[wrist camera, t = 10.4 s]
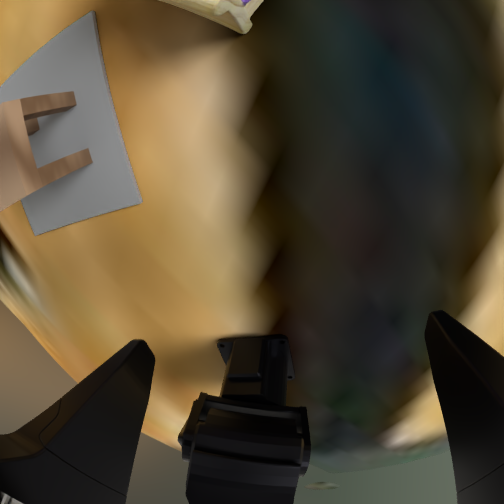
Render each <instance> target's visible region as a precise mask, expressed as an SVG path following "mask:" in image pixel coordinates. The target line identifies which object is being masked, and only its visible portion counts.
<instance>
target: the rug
mask: <svg viewBox="0 0 504 504" xmlns="http://www.w3.org/2000/svg"><path fill="white" fill-rule="evenodd" d="M70 91H74V95H75V99H76V104H77V105H76V106H74V107H72V108H71V109H69V110H68V111H65V112H60V113H55V114H51V115H46V116H42V117H38V118H37V120H38V124H39V128H40V129H39V130H38V131H37V132H35V133H34V134H33V135H30V136H28V138H29V142H30V146H31V149H32V153H33V156H34V160H35V163H36V166H37V169H38V168H40V167H42V166H44V165H47V164H49V163H51V162H54V161H56V160H58V159H61V158H63V157H66V156H68V155H71V154H73V153H76V152H79V151H81V150H84V149H87V148H89V152H90V155H91V158H92V161H93V163H91V164H88V165H86V166H84V167H82V168H80V169H78V170H75V171H73V172H71V173H69V174H67V175H65V176H63V177H61V178H59V179H57V180H55V181H53V182H51V183H49V184H47V185H46V186H44V187H42V188H40V189H38V190H36V191H35V192H33V193H31V194H29V195H27V196H26V197H24V198H22V199H20V200H21V202H22V205H23V208H24V210H25V213H26V215H27V218H28V220H29V223H30V225H31V227H32V230H33V232H34V234H35V236H36V235H39V234H42V233H45V232H48V231H51V230H54V229H57V228H60V227H63V226H66V225H69V224H72V223H75V222H78V221H81V220H84V219H88V218H91V217H94V216H98V215H101V214H104V213H108V212H111V211H115V210H118V209H122V208H126V207H129V206H133V205H137V204H140V203H142V202H143V201H142V198H141V195H140V192H139V189H138V186H137V183H136V180H135V177H134V174H133V171H132V168H131V164H130V161H129V158H128V155H127V151H126V148H125V145H124V141H123V138H122V134H121V131H120V127H119V124H118V120H117V116H116V112H115V109H114V105H113V101H112V97H111V93H110V88H109V84H108V80H107V75H106V71H105V66H104V61H103V56H102V51H101V46H100V40H99V35H98V29H97V22H96V16H95V11H91V12H89V13H87V14H86V15H84V16H83V17H81V18H80V19H78V20H77V21H75V22H74V23H73V24H71V25H70V26H68V27H67V28H66V29H64V30H63V31H62V32H60V33H59V34H58V35H56V36H55V37H54V38H52V39H51V40H50V41H49V42H47V43H46V44H45V45H44V46H43V47H41V48H40V49H39V50H38V51H37V52H36V53H34V54H33V55H32V56H31V57H30V58H29V59H28V60H27V61H26V62H24V63H23V64H22V65H21V66H20V67H19V68H18V69H17V70H16V71H15V72H14V73H13V74H12V75H11V76H10V77H9V78H8V79H7V80H6V81H5V82H4V83H3V84H2V85H1V87H0V104H1V103H2V102H7V101H11V100H16V99H21V98H27V97H32V96H39V95H45V94H53V93H61V92H70Z"/></svg>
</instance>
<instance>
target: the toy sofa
mask: <svg viewBox="0 0 504 504" xmlns="http://www.w3.org/2000/svg"><path fill="white" fill-rule="evenodd" d="M159 1H162V2H165V3H168V4H171V5H174V6H176V7H179V8H182V9H185V10H187V11H190V12H192V13H195V14H197V15H200V16H202V17H205V18H207V19H210V20H212V21H214V22H217V23H219V24H221V25H224V26H226V27H228V28H230V29H232V30H234V31H236V32H238V33H241V34H246V33H247V32H248V31H249V30H250V28H251V26H252V23H251V21H250V17H251V15H252V14H253V13H254V11H255V10H256V9H257V8H258V6H259V5H260V4H261V3H262V1H263V0H159Z"/></svg>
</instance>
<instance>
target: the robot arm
mask: <svg viewBox="0 0 504 504" xmlns="http://www.w3.org/2000/svg"><path fill="white" fill-rule="evenodd" d="M281 340H283V341H281ZM425 341H426V346H427V350H428V355H429V360H430V365H431V370H432V375H433V380H434V384H435V388H436V392H437V395H438V399H439V402H440V406H441V410H442V414H443V418H444V422H445V427H446V431H447V436H448V441H449V446H450V451H451V456H452V461H453V469H454V475H455V483H456V491H457V503H458V504H504V357H503V356H502V355H501V354H500V353H498V352H497V351H496V350H495V349H493V348H492V347H491V346H490V345H488V344H487V343H486V342H485V341H483V340H482V339H481V338H479V337H478V336H477V335H476V334H474V333H473V332H472V331H470V330H469V329H468V328H466V327H465V326H464V325H462V324H461V323H460V322H458V321H457V320H456V319H454V318H453V317H452V316H450V315H449V314H447V313H446V312H445V311H443V310H438V311H434V312H431V313H430V314H429V316H428V321H427V325H426V329H425ZM217 347H218V349H219V351H220V353H221V356H222V358H223V360H224V362H225V364H226V370H225V374H224V379H223V383H222V388H221V392H220V396H219V397H217V396H212V395H207V393H202V392H201V393H200V395H199V398H198V400H197V399H196V401H194V402H193V406H192V409H191V412H190V415H189V418H188V420H187V421H186V423H185V425H184V426H183V428H182V430H181V432H180V433H179V435H178V442H179V443H180V445H181V446H182V459H183V461H186V462H189V467H188V474H187V481H186V497H187V499H188V502H189V504H293V502H294V495H295V491H296V487H297V482H298V478H299V477H303V476H304V475H305V473H306V471H307V468H308V465H309V460H310V452H311V441H310V433H309V425H308V417H307V409H306V407H301V406H300V407H289V406H286V391H287V380H293V379H294V378H295V371H294V366H293V361H292V356H291V351H290V346H289V341H288V338H287V337H286V336H284V335H278V336H266V337H252V338H235V339H220V340H218V343H217ZM154 366H155V356H154V354H153V352H152V351H151V349H150V348H149V346H148V345H147V343H146V342H145V341H144V340H142V339H134V340H132V341H130V342H129V343H128V344H127V345H125V346H124V347H123V348H122V349H120V350H119V351H118V352H117V353H115V354H114V355H113V356H112V357H110V358H109V359H108V360H107V361H106V362H104V363H103V364H102V365H101V366H99V367H98V368H97V369H96V370H94V371H93V372H92V373H91V374H90V375H88V376H87V377H86V378H85V379H83V380H82V381H81V382H80V383H79V384H77V385H76V386H75V387H74V388H72V389H71V390H70V391H69V392H68V393H66V394H65V395H64V396H63V397H62V398H60V399H59V400H58V401H57V402H55V403H54V404H53V405H52V406H50V407H49V408H48V409H46V410H45V411H44V412H42V413H41V414H40V415H38V416H37V417H35V418H34V419H32V420H31V421H30V422H28V423H27V424H25V425H24V426H22V427H21V428H20V429H18V430H16V431H15V432H13V433H10V434H4V435H0V504H125V502H126V497H127V496H126V495H127V492H128V487H129V482H130V476H131V472H132V467H133V462H134V458H135V454H136V449H137V445H138V441H139V437H140V433H141V429H142V425H143V421H144V417H145V413H146V409H147V405H148V401H149V396H150V390H151V384H152V377H153V371H154Z"/></svg>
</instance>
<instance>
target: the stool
mask: <svg viewBox="0 0 504 504" xmlns="http://www.w3.org/2000/svg"><path fill="white" fill-rule="evenodd" d="M76 105H77V104H76V99H75V95H74V91H70V92H61V93H53V94H45V95H39V96H32V97H27V98H21V99H16V100H11V101H7V102H2V103H1V104H0V212H1V211H2V210H4V209H6V208H7V207H9V206H10V205H12V204H14V203H15V202H17V201H19V200H20V199H22V198H24V197H26V196H27V195H29V194H31V193H33V192H35V191H36V190H38V189H40V188H42V187H44V186H46V185H47V184H49V183H51V182H53V181H55V180H57V179H59V178H61V177H63V176H65V175H67V174H69V173H71V172H73V171H75V170H78V169H80V168H82V167H84V166H86V165H88V164H91V163H93V161H92V158H91V155H90V152H89V148H87V149H84V150H81V151H79V152H76V153H73V154H71V155H68V156H66V157H63V158H61V159H58V160H56V161H54V162H51V163H49V164H47V165H44V166H42V167H40V168H38V169H37V166H36V163H35V160H34V156H33V153H32V149H31V146H30V142H29V138H28V136H30V135H33V134H34V133H35V132H37V131H38V130H39V129H40V128H39V124H38V120H37V118H38V117H42V116H46V115H51V114H55V113H60V112H65V111H68V110H69V109H71V108H72V107H74V106H76Z"/></svg>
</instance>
